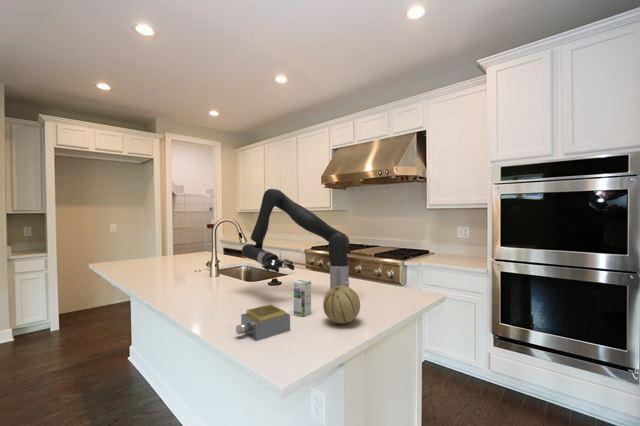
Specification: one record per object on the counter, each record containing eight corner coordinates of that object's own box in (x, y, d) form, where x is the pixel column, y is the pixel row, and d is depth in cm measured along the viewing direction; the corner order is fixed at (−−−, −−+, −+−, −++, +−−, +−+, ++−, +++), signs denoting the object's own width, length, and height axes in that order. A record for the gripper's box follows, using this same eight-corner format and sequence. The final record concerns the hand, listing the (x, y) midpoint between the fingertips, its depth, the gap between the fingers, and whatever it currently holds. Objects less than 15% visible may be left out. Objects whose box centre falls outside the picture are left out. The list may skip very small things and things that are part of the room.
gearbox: (273, 321, 123) (273, 303, 123) (290, 330, 114) (290, 310, 114) (231, 333, 112) (230, 312, 112) (245, 344, 103) (245, 322, 103)
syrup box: (292, 314, 131) (292, 281, 131) (301, 310, 136) (301, 278, 136) (303, 317, 128) (303, 282, 128) (311, 313, 133) (311, 280, 133)
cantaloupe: (364, 319, 125) (364, 282, 125) (353, 332, 112) (353, 291, 112) (331, 314, 131) (331, 279, 131) (317, 326, 118) (316, 287, 118)
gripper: (255, 253, 148) (273, 262, 136) (280, 251, 157) (299, 259, 145) (254, 268, 149) (272, 279, 136) (279, 265, 158) (297, 275, 146)
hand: (286, 269), depth 141 cm, fingers open, 8 cm apart
